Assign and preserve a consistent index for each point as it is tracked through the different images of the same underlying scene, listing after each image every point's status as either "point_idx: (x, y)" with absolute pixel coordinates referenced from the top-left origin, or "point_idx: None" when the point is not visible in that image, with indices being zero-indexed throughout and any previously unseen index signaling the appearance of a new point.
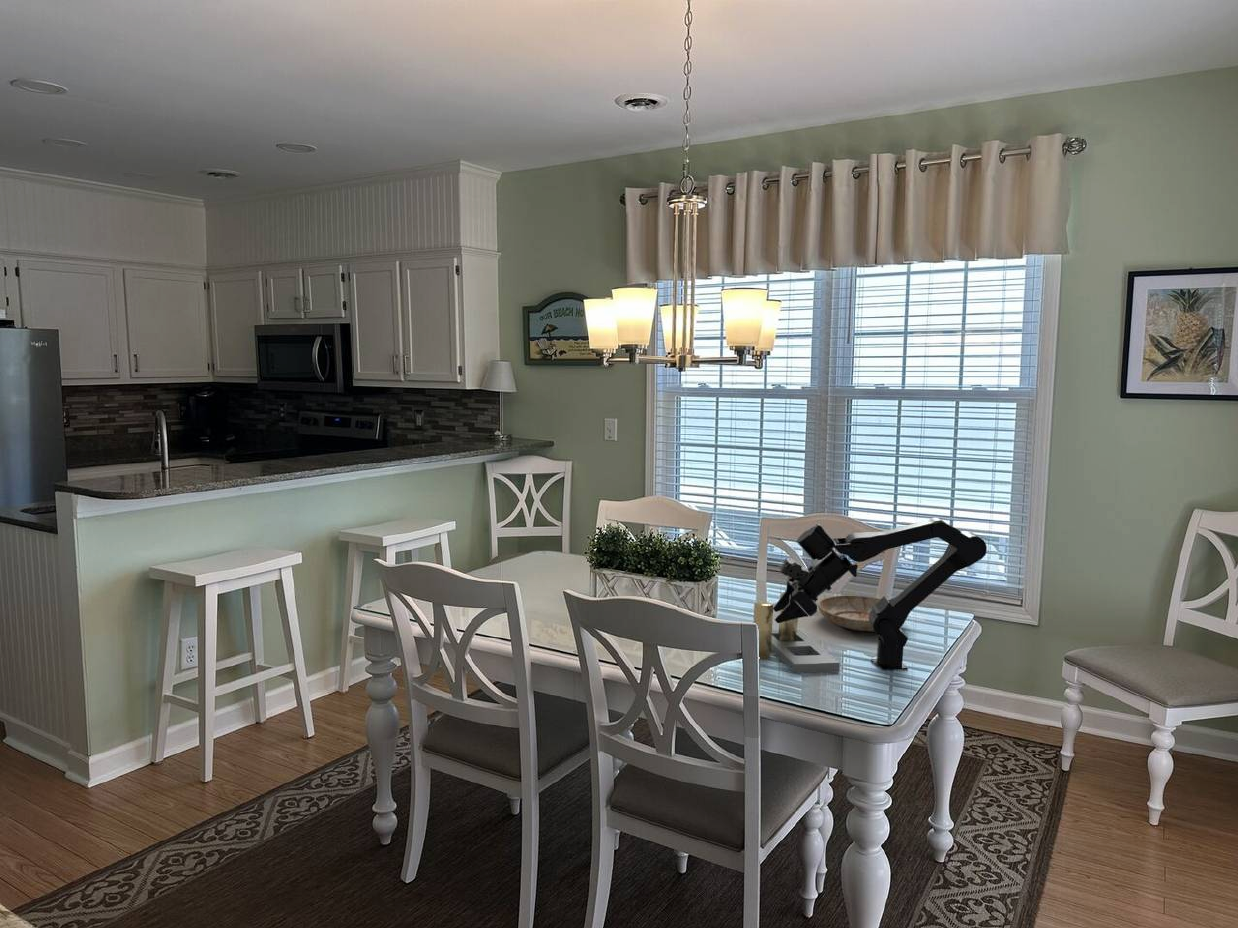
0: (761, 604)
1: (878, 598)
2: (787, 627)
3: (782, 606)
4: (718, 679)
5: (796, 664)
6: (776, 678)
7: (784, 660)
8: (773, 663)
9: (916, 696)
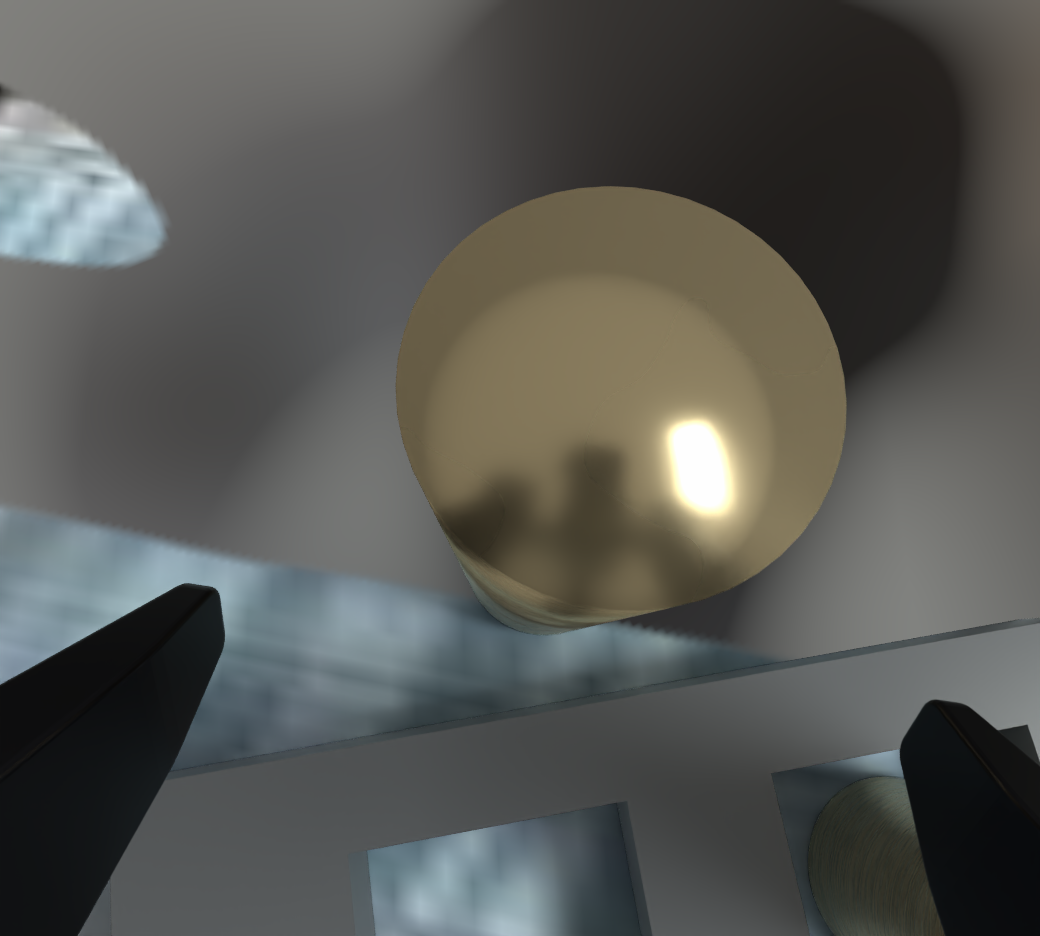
0: (599, 326)
1: None
2: (933, 924)
3: (983, 923)
4: (71, 174)
5: None
6: (40, 586)
7: (383, 735)
8: (385, 630)
9: None
